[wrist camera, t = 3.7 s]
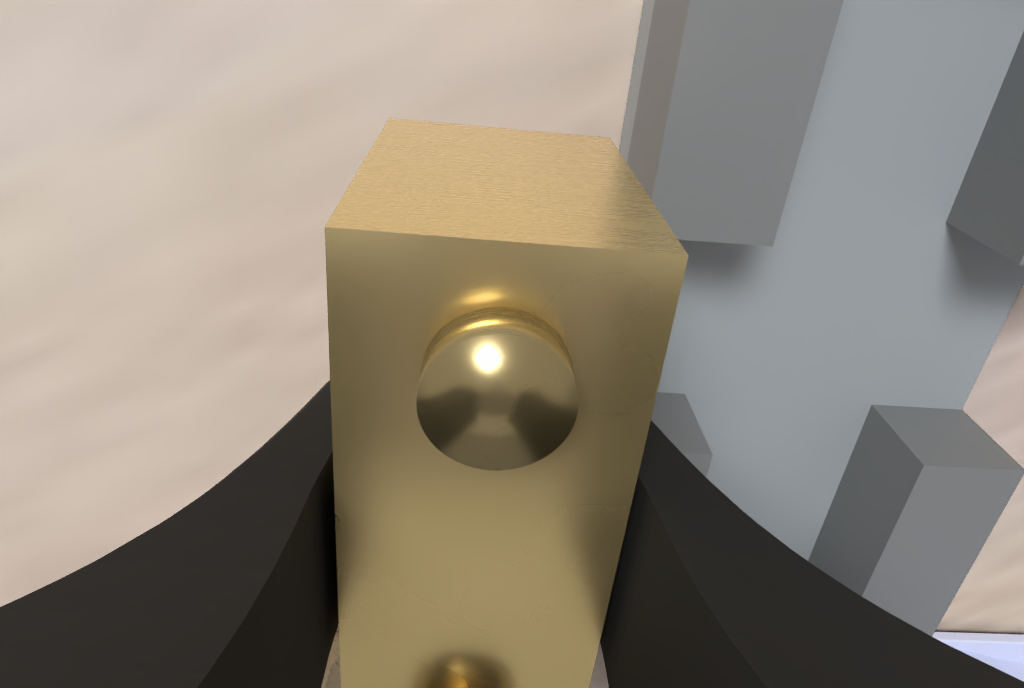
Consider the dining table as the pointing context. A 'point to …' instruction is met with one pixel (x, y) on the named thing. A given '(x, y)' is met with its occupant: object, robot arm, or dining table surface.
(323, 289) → the dining table surface
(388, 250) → the link
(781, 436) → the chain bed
